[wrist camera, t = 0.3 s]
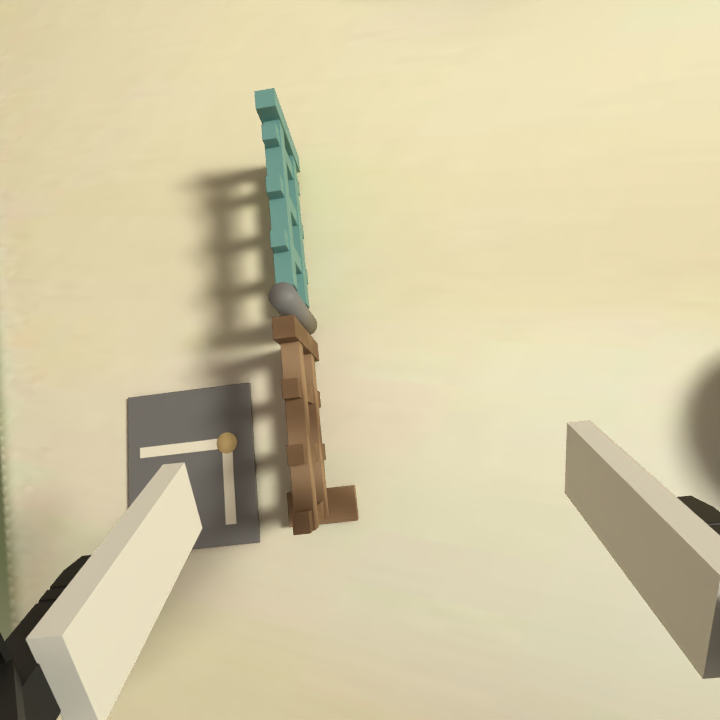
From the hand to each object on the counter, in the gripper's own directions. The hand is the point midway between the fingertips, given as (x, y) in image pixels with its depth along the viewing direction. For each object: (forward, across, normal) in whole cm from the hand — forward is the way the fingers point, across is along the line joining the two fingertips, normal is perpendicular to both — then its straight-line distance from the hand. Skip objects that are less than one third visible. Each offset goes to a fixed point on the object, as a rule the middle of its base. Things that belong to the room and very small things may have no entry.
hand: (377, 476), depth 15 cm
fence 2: (+18, +5, +6) cm, 19 cm away
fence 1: (+25, +5, -7) cm, 26 cm away
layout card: (+17, +15, +8) cm, 24 cm away
